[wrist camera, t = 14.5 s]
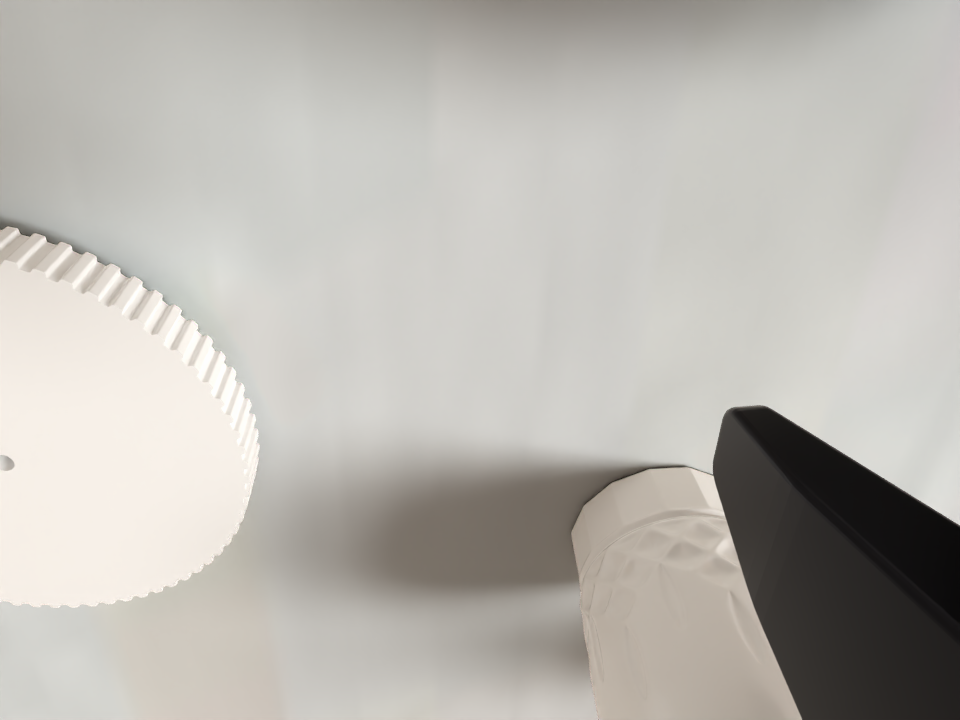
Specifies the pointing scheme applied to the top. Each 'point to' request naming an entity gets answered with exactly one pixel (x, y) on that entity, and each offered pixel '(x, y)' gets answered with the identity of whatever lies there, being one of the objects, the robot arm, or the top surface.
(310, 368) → the top surface
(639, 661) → the white cup
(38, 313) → the white gear
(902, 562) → the robot arm
